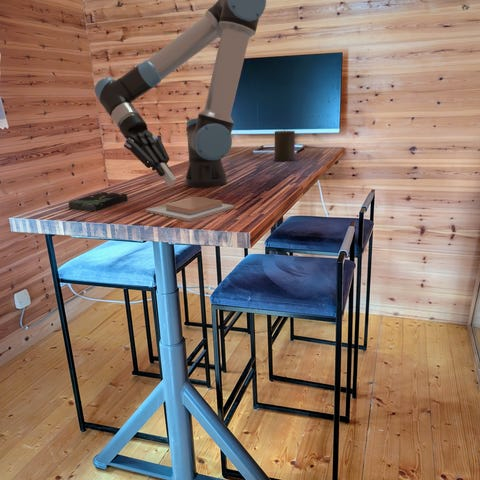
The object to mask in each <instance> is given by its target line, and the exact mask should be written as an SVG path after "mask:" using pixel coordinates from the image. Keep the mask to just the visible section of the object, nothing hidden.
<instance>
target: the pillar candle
mask: <svg viewBox="0 0 480 480" xmlns="http://www.w3.org/2000/svg"><path fill="white" fill-rule="evenodd" d="M295 139H296V132H295V130H286V129H285V128H284V129H283V130H275V131H274V161H275V162H292V161H295V155H296V154H295V147H296V145H295V144H296V141H295Z"/></svg>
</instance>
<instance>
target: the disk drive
mask: <svg viewBox="0 0 480 480" xmlns="http://www.w3.org/2000/svg"><path fill="white" fill-rule="evenodd" d="M127 201H128V194H127V193H119V192H118V193H117V192H110V193H108V192H107V191H106V192H104V191H102V192H98V193H94V194H90V195H88V196H83V197H81V198H78V199H74V200H71V201H68V208H69V210H74V211H85V212H98V211H101V210H104V209H105V210H106V208H107V209H108V208H110V207H113V206H116V205H118V204H122V203H125V202H127Z"/></svg>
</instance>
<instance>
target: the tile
mask: <svg viewBox="0 0 480 480" xmlns="http://www.w3.org/2000/svg"><path fill="white" fill-rule="evenodd" d="M189 198H190V199H188V198H185V199H186V200H184V199H181V200H182V201H180V200H177V201H178V202H176V201H173V202H174V203H172V202H169V203H170V204H168V203H165V204H166V210H167V211H172V212H177V213H182V214H187V215H194V214H197V213H201V212H204V211H208V210H211V209H215V208H218V207H221V206H222V204H223V200H221V199H213V198H207V197H201V196H193V197H189Z"/></svg>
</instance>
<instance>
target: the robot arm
mask: <svg viewBox="0 0 480 480" xmlns="http://www.w3.org/2000/svg"><path fill="white" fill-rule="evenodd" d="M266 6H267V0H217V1H216V2H215V3H214V4H213V5H212V6H211V7H210V8H208V9H207V10H206V11H205V15H204V17H202V18H201V19H199V20H198V21H197V22H196V23H194V24H193V25H191V27H189V28H188V29H186V30H185V31H183V32H182V33H181V34H180V35H179V36H177V37H176V38H174V39H173V40H172V41H170V42H169V43H168V44H167V45H165V46H163V48H161V49H160V50H158V51H157V52H156V53H154V54H153V55H152V56H151V57H149V58H148V59H146V60H144V61H143V62H140V63H139V64H137V65H136V66H135V67H133V68H132V69H131V70H129V71H128V72H126V73H125V74H123V75H122V76H120V77H119V78H118V79H115V78H113V77H110V76H106V77H105V78H101V79H99V80H98V81H97V82H96V84H95V86H94V93H95V95H96V97H97V99H98V100H99V103H100V104H101V105H102V107H103V108H104V110H105V111H106V112H107V114H108V115H109V116H110V118H111V119H112V121H113V122H114V124H115V125H116V127H117V128H118V129H119V131H120V132H121V134H122V135H123V137H124V139H126V140H125V142H124V145H123V147H124V148H125V149H126V150H129V151H130V152H131V153H132V154H133V155H134V156H135V158H137V159H138V160H139V161H140V162H141V163H142V165H144V166H145V167H146V168H147V169H150V168H151V171H153V172H154V171H156V173H157V174H158V177H161V178H162V180H163V181H164V182H165V184H166V185H167V187H172V186H174V184H175V182H176V181H177V179H176V177H175V176H174V174H173V173H172V170H171V168H170V166H169V165H168V162H169V161H170V156H169V154H168V153H167V150H166V148H165V147H164V143H163V141H162V136H161V135H160V134H158V135H157V136H156V135H154V134H153V133H152V132H151V131H149V129H148V125H147V123H146V121H145V120H144V118H143V117H142V116H141V115H140V113H139V112H138V110H137V108H136V107H135V106H134V105H133V104H132V102H134V101H136V99H138V98H140V97H141V96H143V95H144V94H146V93H147V92H149V91H150V90H152V89H154V88H155V87H156V86H157V85H159V84H160V83H161V82H162V80H163V79H165V78H166V77H168V76H169V75H170V74H172V73H173V72H174V71H175V70H176V69H178V68H180V67H181V66H182V65H184V64H185V63H186V62H187V61H189V60H190V59H191V58H193V57H194V56H196V55H197V54H198V53H200V52H201V51H202V50H204V49H205V48H206V47H207V46H209V45H210V44H211V43H213V42H214V41H215V40H217V39H218V38H220V39H219V43H218V44H219V45H218V48H217V54H216V57H215V60H214V65H213V71H212V73H211V80H210V84H209V88H208V92H207V96H206V101H205V105H204V109H203V110H201V111H200V112H198V115H197V118H190V119H188V120H187V121H186V128H185V129H186V130H185V131H186V135H187V153H188V165H187V167H188V168H187V170H186V174H185V178H184V179H185V185H186V186H187V187H191V188H211V187H220V186H223V185H226V184H227V183H228V177H227V173H226V171H225V167H224V166H223V163H222V159H223V158H224V157H226V156H227V155H228V154H229V152H230V151H231V148H232V145H233V137H232V131H233V126H234V123H235V122H234V120H233V119H232V111H233V107H234V102H235V98H236V94H237V91H238V87H239V81H240V78H241V74H242V70H243V65H244V61H245V57H246V52H247V48H248V44H249V40H250V39H251V38H252V37H254V36H255V35H256V32H257V29H258V24H259V21H260V17H261V16H262V15H263V13H264V11H265V9H266Z"/></svg>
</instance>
